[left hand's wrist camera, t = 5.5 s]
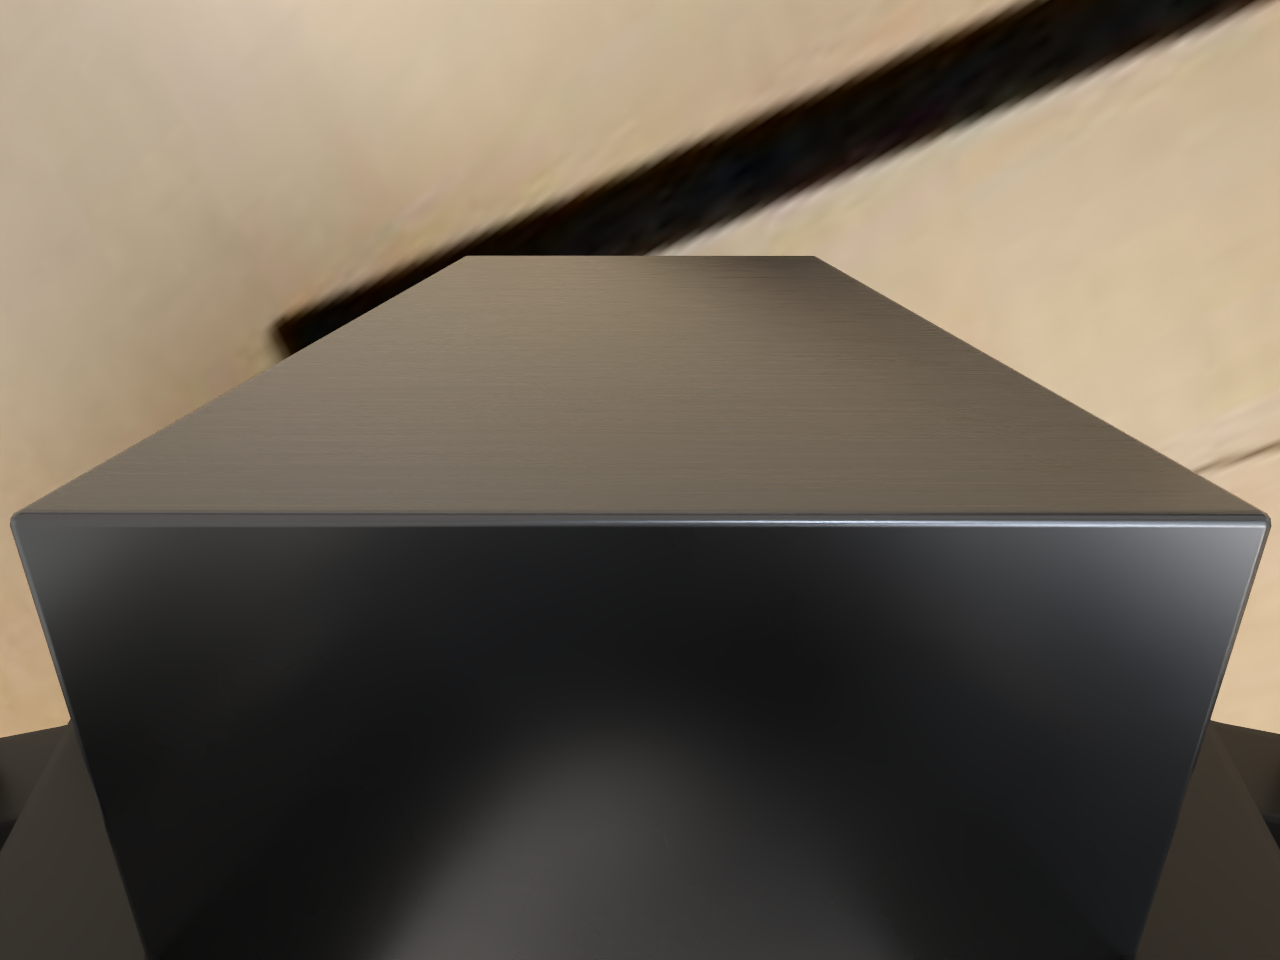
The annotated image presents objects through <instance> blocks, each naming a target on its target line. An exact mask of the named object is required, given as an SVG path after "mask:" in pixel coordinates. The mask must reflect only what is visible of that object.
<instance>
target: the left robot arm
mask: <svg viewBox="0 0 1280 960" xmlns="http://www.w3.org/2000/svg"><path fill="white" fill-rule="evenodd" d="M0 960H160V959H159V956H150V955H148V954H146V953H145V952H144V949H143V946H142V943H141V940H140V936H139V933H138V930H137V927H136V924H135V921H134V917H133V914H132V911H131V908H130V905H129V902H128V898H127V895H126V892H125V889H124V886H123V883H122V879H121V876H120V873H119V870H118V867H117V863H116V860H115V857H114V854H113V851H112V848H111V844H110V841H109V838H108V835H107V832H106V829H105V825H104V822H103V819H102V816H101V813H100V810H99V806H98V803H97V800H96V797H95V794H94V790H93V787H92V784H91V781H90V778H89V775H88V771H87V768H86V765H85V762H84V759H83V756H82V752H81V749H80V746H79V743H78V740H77V737H76V733H75V730H74V727H73V724H72V721H71V719H70V721H69V723H68V725H64V726H60V727H56V728H50V729H45V730H40V731H35V732H29V733H24V734H19V735H14V736H8V737H3V738H0ZM1121 960H1280V734H1276V733H1271V732H1266V731H1260V730H1255V729H1250V728H1245V727H1239V726H1234V725H1229V724H1223V723H1219V722H1215V721H1211V719H1210V721H1209V725H1208V728H1207V731H1206V734H1205V737H1204V740H1203V744H1202V747H1201V750H1200V753H1199V756H1198V759H1197V762H1196V766H1195V769H1194V772H1193V775H1192V778H1191V781H1190V785H1189V788H1188V791H1187V794H1186V797H1185V800H1184V804H1183V807H1182V810H1181V813H1180V816H1179V819H1178V823H1177V826H1176V829H1175V832H1174V835H1173V838H1172V842H1171V845H1170V848H1169V851H1168V854H1167V857H1166V861H1165V864H1164V867H1163V870H1162V873H1161V876H1160V880H1159V883H1158V886H1157V889H1156V892H1155V895H1154V899H1153V902H1152V905H1151V908H1150V911H1149V914H1148V917H1147V921H1146V924H1145V927H1144V930H1143V933H1142V936H1141V940H1140V943H1139V946H1138V949H1137V952H1136V953H1134V954H1132V955H1122V956H1121Z"/></svg>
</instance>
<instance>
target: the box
mask: <svg viewBox="0 0 1280 960" xmlns="http://www.w3.org/2000/svg"><path fill="white" fill-rule="evenodd" d="M10 527H11V530H12V533H13V537H14V540H15V543H16V546H17V549H18V552H19V556H20V559H21V562H22V565H23V568H24V571H25V575H26V578H27V581H28V584H29V587H30V591H31V594H32V597H33V600H34V603H35V606H36V610H37V613H38V616H39V619H40V622H41V625H42V629H43V632H44V635H45V638H46V641H47V644H48V648H49V651H50V654H51V657H52V660H53V664H54V667H55V670H56V673H57V676H58V679H59V683H60V686H61V689H62V692H63V695H64V698H65V702H66V705H67V708H68V711H69V714H70V717H71V721H72V724H73V727H74V730H75V733H76V737H77V740H78V743H79V746H80V749H81V752H82V756H83V759H84V762H85V765H86V768H87V771H88V775H89V778H90V781H91V784H92V787H93V790H94V794H95V797H96V800H97V803H98V806H99V810H100V813H101V816H102V819H103V822H104V825H105V829H106V832H107V835H108V838H109V841H110V844H111V848H112V851H113V854H114V857H115V860H116V863H117V867H118V870H119V873H120V876H121V879H122V883H123V886H124V889H125V892H126V895H127V898H128V902H129V905H130V908H131V911H132V914H133V917H134V921H135V924H136V927H137V930H138V933H139V936H140V940H141V943H142V946H143V949H144V952H145V953H146V954H148V955H150V956H159V959H160V960H1121V956H1122V955H1132V954H1134V953H1136V952H1137V949H1138V946H1139V943H1140V940H1141V936H1142V933H1143V930H1144V927H1145V924H1146V921H1147V917H1148V914H1149V911H1150V908H1151V905H1152V902H1153V899H1154V895H1155V892H1156V889H1157V886H1158V883H1159V880H1160V876H1161V873H1162V870H1163V867H1164V864H1165V861H1166V857H1167V854H1168V851H1169V848H1170V845H1171V842H1172V838H1173V835H1174V832H1175V829H1176V826H1177V823H1178V819H1179V816H1180V813H1181V810H1182V807H1183V804H1184V800H1185V797H1186V794H1187V791H1188V788H1189V785H1190V781H1191V778H1192V775H1193V772H1194V769H1195V766H1196V762H1197V759H1198V756H1199V753H1200V750H1201V747H1202V744H1203V740H1204V737H1205V734H1206V731H1207V728H1208V725H1209V721H1210V718H1211V715H1212V712H1213V709H1214V706H1215V702H1216V699H1217V696H1218V693H1219V690H1220V687H1221V683H1222V680H1223V677H1224V674H1225V671H1226V668H1227V664H1228V661H1229V658H1230V655H1231V652H1232V649H1233V645H1234V642H1235V639H1236V636H1237V633H1238V630H1239V626H1240V623H1241V620H1242V617H1243V614H1244V611H1245V607H1246V604H1247V601H1248V598H1249V595H1250V592H1251V589H1252V585H1253V582H1254V579H1255V576H1256V573H1257V570H1258V566H1259V563H1260V560H1261V557H1262V554H1263V551H1264V547H1265V544H1266V541H1267V538H1268V535H1269V532H1270V528H1271V519H1270V517H1269V516H1268V514H1267V513H1265V512H1263V511H1261V510H1260V509H1258V508H1256V507H1254V506H1253V505H1251V504H1249V503H1247V502H1246V501H1244V500H1242V499H1240V498H1239V497H1237V496H1235V495H1233V494H1232V493H1230V492H1228V491H1226V490H1225V489H1223V488H1221V487H1219V486H1218V485H1216V484H1214V483H1212V482H1211V481H1209V480H1207V479H1205V478H1203V477H1202V476H1200V475H1198V474H1196V473H1195V472H1193V471H1191V470H1189V469H1188V468H1186V467H1184V466H1182V465H1181V464H1179V463H1177V462H1175V461H1174V460H1172V459H1170V458H1168V457H1167V456H1165V455H1163V454H1161V453H1160V452H1158V451H1156V450H1154V449H1153V448H1151V447H1149V446H1147V445H1145V444H1144V443H1142V442H1140V441H1138V440H1137V439H1135V438H1133V437H1131V436H1130V435H1128V434H1126V433H1124V432H1123V431H1121V430H1119V429H1117V428H1116V427H1114V426H1112V425H1110V424H1109V423H1107V422H1105V421H1103V420H1102V419H1100V418H1098V417H1096V416H1095V415H1093V414H1091V413H1089V412H1088V411H1086V410H1084V409H1082V408H1080V407H1079V406H1077V405H1075V404H1073V403H1072V402H1070V401H1068V400H1066V399H1065V398H1063V397H1061V396H1059V395H1058V394H1056V393H1054V392H1052V391H1051V390H1049V389H1047V388H1045V387H1044V386H1042V385H1040V384H1038V383H1037V382H1035V381H1033V380H1031V379H1030V378H1028V377H1026V376H1024V375H1023V374H1021V373H1019V372H1017V371H1015V370H1014V369H1012V368H1010V367H1008V366H1007V365H1005V364H1003V363H1001V362H1000V361H998V360H996V359H994V358H993V357H991V356H989V355H987V354H986V353H984V352H982V351H980V350H979V349H977V348H975V347H973V346H972V345H970V344H968V343H966V342H965V341H963V340H961V339H959V338H957V337H956V336H954V335H952V334H950V333H949V332H947V331H945V330H943V329H942V328H940V327H938V326H936V325H935V324H933V323H931V322H929V321H928V320H926V319H924V318H922V317H921V316H919V315H917V314H915V313H914V312H912V311H910V310H908V309H907V308H905V307H903V306H901V305H900V304H898V303H896V302H894V301H892V300H891V299H889V298H887V297H885V296H884V295H882V294H880V293H878V292H877V291H875V290H873V289H871V288H870V287H868V286H866V285H864V284H863V283H861V282H859V281H857V280H856V279H854V278H852V277H850V276H849V275H847V274H845V273H843V272H842V271H840V270H838V269H836V268H835V267H833V266H831V265H829V264H827V263H826V262H824V261H822V260H820V259H819V258H817V257H815V256H466V257H464V258H462V259H460V260H458V261H457V262H455V263H453V264H451V265H450V266H448V267H446V268H444V269H443V270H441V271H439V272H437V273H436V274H434V275H432V276H430V277H429V278H427V279H425V280H423V281H422V282H420V283H418V284H416V285H414V286H413V287H411V288H409V289H407V290H406V291H404V292H402V293H400V294H399V295H397V296H395V297H393V298H392V299H390V300H388V301H386V302H385V303H383V304H381V305H379V306H378V307H376V308H374V309H372V310H371V311H369V312H367V313H365V314H364V315H362V316H360V317H358V318H357V319H355V320H353V321H351V322H349V323H348V324H346V325H344V326H342V327H341V328H339V329H337V330H335V331H334V332H332V333H330V334H328V335H327V336H325V337H323V338H321V339H320V340H318V341H316V342H314V343H313V344H311V345H309V346H307V347H306V348H304V349H302V350H300V351H299V352H297V353H295V354H293V355H292V356H290V357H288V358H286V359H284V360H283V361H281V362H279V363H277V364H276V365H274V366H272V367H270V368H269V369H267V370H265V371H263V372H262V373H260V374H258V375H256V376H255V377H253V378H251V379H249V380H248V381H246V382H244V383H242V384H241V385H239V386H237V387H235V388H234V389H232V390H230V391H228V392H227V393H225V394H223V395H221V396H219V397H218V398H216V399H214V400H212V401H211V402H209V403H207V404H205V405H204V406H202V407H200V408H198V409H197V410H195V411H193V412H191V413H190V414H188V415H186V416H184V417H183V418H181V419H179V420H177V421H176V422H174V423H172V424H170V425H169V426H167V427H165V428H163V429H162V430H160V431H158V432H156V433H154V434H153V435H151V436H149V437H147V438H146V439H144V440H142V441H140V442H139V443H137V444H135V445H133V446H132V447H130V448H128V449H126V450H125V451H123V452H121V453H119V454H118V455H116V456H114V457H112V458H111V459H109V460H107V461H105V462H104V463H102V464H100V465H98V466H97V467H95V468H93V469H91V470H89V471H88V472H86V473H84V474H82V475H81V476H79V477H77V478H75V479H74V480H72V481H70V482H68V483H67V484H65V485H63V486H61V487H60V488H58V489H56V490H54V491H53V492H51V493H49V494H47V495H46V496H44V497H42V498H40V499H39V500H37V501H35V502H33V503H32V504H30V505H28V506H26V507H24V508H23V509H21V510H19V511H17V512H16V513H14V514H13V516H12V517H11V522H10Z"/></svg>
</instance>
